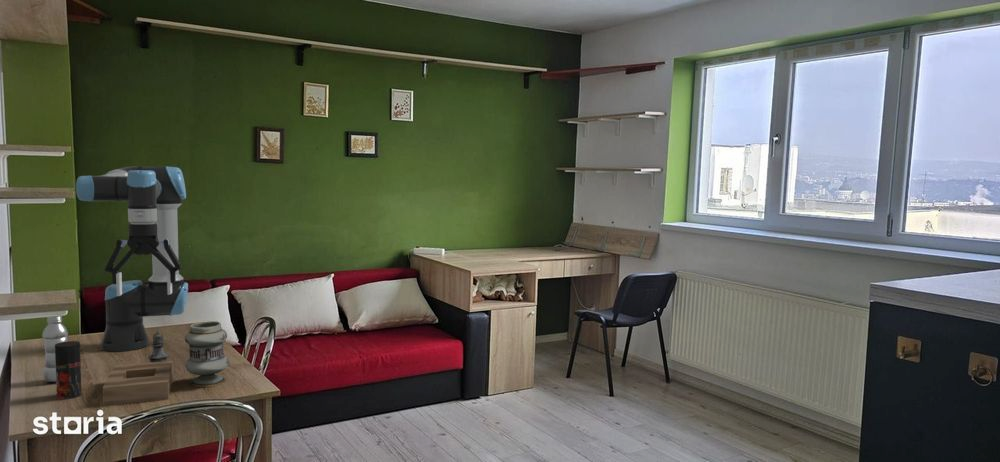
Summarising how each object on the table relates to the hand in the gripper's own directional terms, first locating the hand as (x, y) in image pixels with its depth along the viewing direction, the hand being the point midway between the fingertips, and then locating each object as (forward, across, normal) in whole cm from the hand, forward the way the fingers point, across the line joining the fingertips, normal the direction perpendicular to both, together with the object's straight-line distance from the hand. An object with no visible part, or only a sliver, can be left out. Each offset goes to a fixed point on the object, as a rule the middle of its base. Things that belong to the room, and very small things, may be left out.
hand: (144, 294), depth 203 cm
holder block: (+27, -1, -5) cm, 28 cm away
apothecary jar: (+28, +17, -1) cm, 32 cm away
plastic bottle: (+27, -27, +8) cm, 39 cm away
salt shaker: (+27, -1, +19) cm, 33 cm away
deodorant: (+28, -19, -7) cm, 34 cm away
